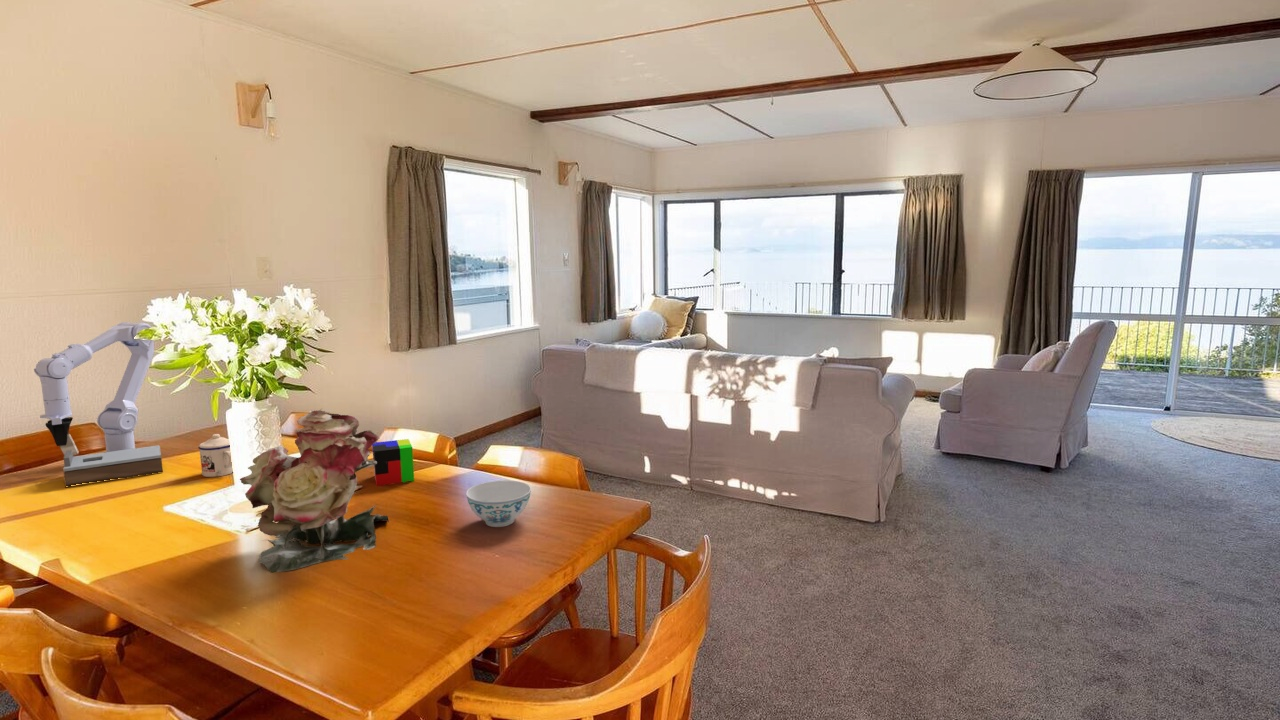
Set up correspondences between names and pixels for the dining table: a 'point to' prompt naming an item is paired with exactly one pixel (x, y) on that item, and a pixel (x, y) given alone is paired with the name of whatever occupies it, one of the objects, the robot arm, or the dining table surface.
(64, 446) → the wooden block
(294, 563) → the rose bouquet
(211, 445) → the teacup with lid
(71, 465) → the toolbox lid
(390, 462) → the puzzle toy
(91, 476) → the toolbox
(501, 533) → the dining table surface
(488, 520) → the chinaware
